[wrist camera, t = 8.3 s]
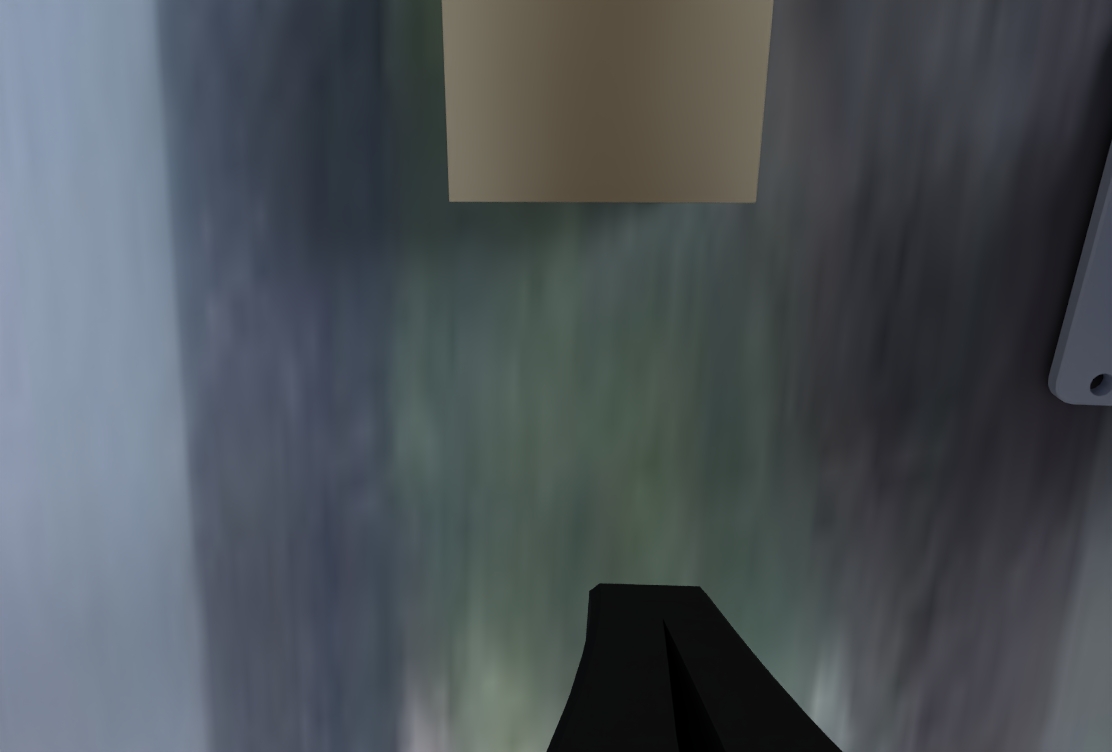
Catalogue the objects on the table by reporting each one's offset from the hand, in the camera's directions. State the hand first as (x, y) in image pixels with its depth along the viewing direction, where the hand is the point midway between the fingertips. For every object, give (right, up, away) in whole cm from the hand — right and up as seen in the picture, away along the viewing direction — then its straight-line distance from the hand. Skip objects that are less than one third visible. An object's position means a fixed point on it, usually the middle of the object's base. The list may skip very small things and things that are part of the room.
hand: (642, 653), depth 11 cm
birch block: (0, +10, +6) cm, 12 cm away
